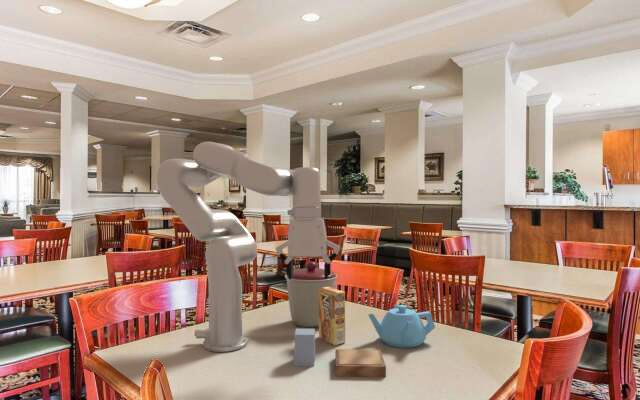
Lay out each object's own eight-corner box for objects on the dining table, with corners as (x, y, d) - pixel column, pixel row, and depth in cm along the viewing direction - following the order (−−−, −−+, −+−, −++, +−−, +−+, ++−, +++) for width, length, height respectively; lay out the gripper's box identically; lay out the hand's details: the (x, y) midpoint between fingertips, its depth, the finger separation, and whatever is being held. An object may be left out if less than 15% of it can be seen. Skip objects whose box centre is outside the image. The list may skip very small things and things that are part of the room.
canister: (274, 322, 144) (274, 261, 144) (313, 312, 157) (313, 256, 156) (308, 335, 131) (308, 268, 131) (348, 323, 143) (348, 262, 143)
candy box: (346, 343, 124) (346, 291, 124) (334, 345, 122) (334, 293, 122) (329, 335, 131) (329, 286, 131) (317, 337, 129) (317, 287, 129)
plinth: (335, 376, 101) (336, 365, 101) (335, 358, 112) (335, 348, 112) (385, 376, 101) (385, 365, 101) (380, 359, 112) (380, 349, 112)
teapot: (409, 355, 115) (410, 316, 115) (366, 341, 126) (366, 305, 126) (437, 341, 126) (437, 305, 126) (395, 330, 137) (395, 297, 137)
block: (294, 365, 107) (294, 334, 107) (296, 358, 112) (296, 328, 112) (314, 366, 107) (314, 334, 107) (314, 358, 112) (314, 328, 112)
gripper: (271, 215, 109) (273, 281, 109) (338, 213, 107) (340, 280, 107) (278, 214, 116) (279, 275, 116) (340, 212, 114) (342, 275, 114)
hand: (308, 278), depth 111 cm, fingers open, 9 cm apart
